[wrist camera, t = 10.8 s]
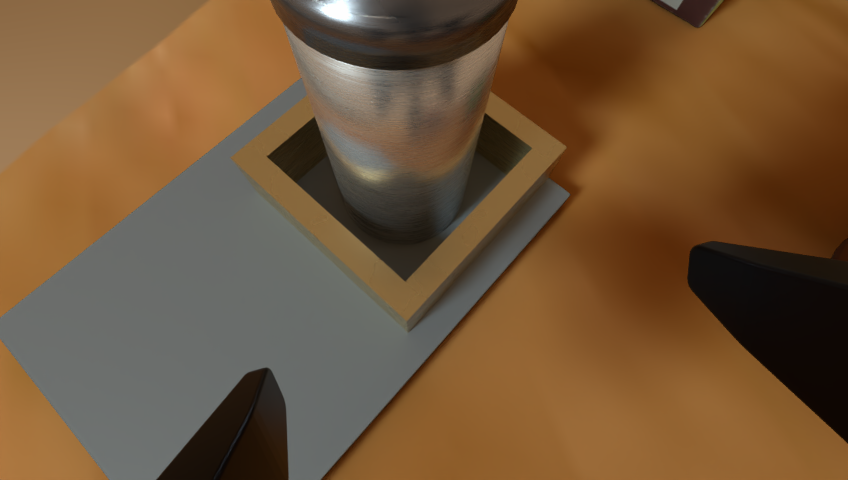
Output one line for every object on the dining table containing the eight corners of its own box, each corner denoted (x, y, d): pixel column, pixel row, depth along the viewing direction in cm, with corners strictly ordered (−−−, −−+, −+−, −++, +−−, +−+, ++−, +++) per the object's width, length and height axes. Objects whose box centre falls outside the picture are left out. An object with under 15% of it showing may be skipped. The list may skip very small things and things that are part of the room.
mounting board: (562, 204, 21) (570, 194, 20) (222, 591, 16) (208, 607, 15) (360, 49, 24) (357, 32, 23) (15, 329, 19) (-10, 325, 18)
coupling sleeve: (489, 209, 20) (592, -43, 9) (376, 269, 19) (322, 67, 7) (427, 116, 21) (443, -198, 10) (319, 165, 20) (205, -128, 9)
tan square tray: (546, 181, 20) (567, 147, 18) (407, 332, 18) (406, 321, 15) (398, 69, 22) (396, 22, 20) (256, 191, 20) (230, 157, 17)
